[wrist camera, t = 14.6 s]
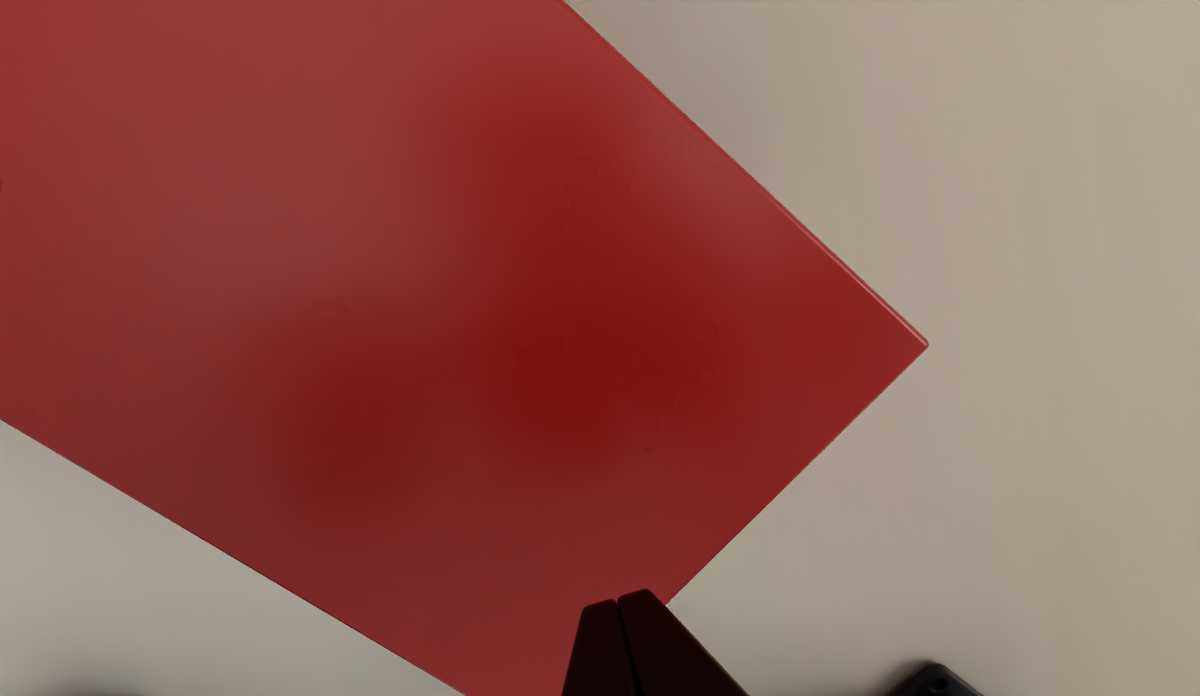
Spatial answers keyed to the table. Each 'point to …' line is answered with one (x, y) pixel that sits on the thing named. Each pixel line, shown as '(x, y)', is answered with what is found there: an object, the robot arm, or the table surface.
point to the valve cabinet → (411, 308)
